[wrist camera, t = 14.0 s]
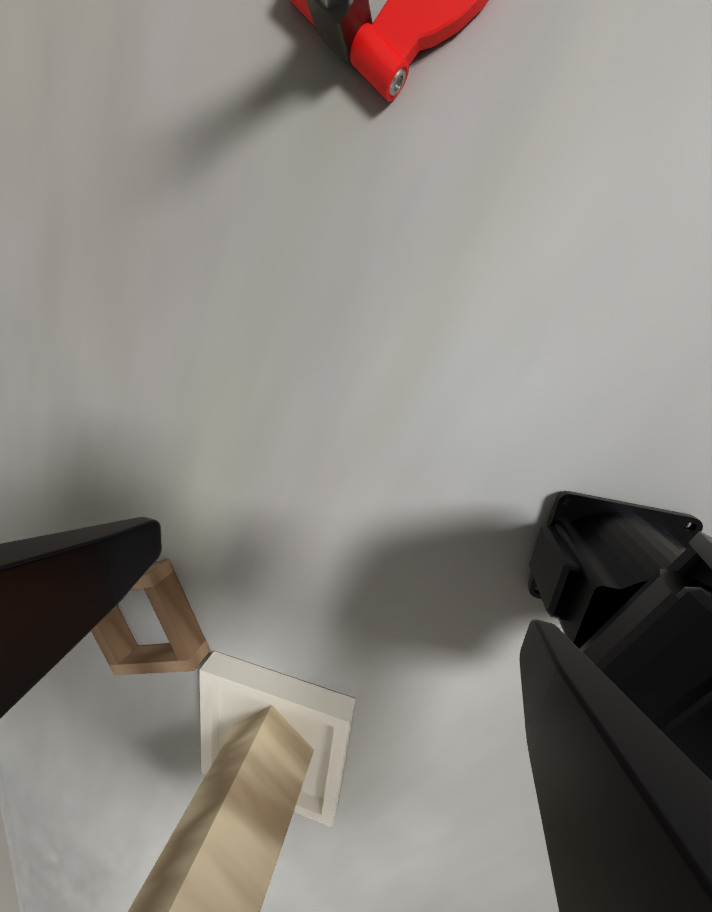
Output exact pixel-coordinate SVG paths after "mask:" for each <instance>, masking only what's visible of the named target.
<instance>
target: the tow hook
mask: <svg viewBox="0 0 712 912" xmlns="http://www.w3.org/2000/svg"><path fill="white" fill-rule="evenodd" d="M290 1H291V2H292V3H293V4H294V5H295V6H296V7H297V8H298V9H299V10H300V11H301V12H302V13H303V15H304V16H305V17H306V18H307V19H308V20H309V21H310V22H311V23H312V24H313V25H314V26H315V28H316V30H317V32H318V34H319V35H320V36H321V37H322V38H323V39H324V40H325V41H326V42H327V43H328V44H329V45H330V46H331V47H332V48H333V49H334V51H335V52H336V53H337V54H338V55H339V56H340V57H341V58H342V59H343V60H344V61H345V62H346V63H347V64H348V65H349V66H351V67H355V68H356V69H357V70H358V71H359V72H360V73H361V74H362V75H363V76H364V77H365V78H366V79H367V80H368V81H369V83H370V84H371V85H372V86H373V87H374V88H375V89H376V90H377V91H378V92H379V93H380V94H381V95H382V96H383V97H384V98H385V99H386V100H387V101H388V102H390V101H392V100H394V99H395V98H396V97H397V95H398V94H399V93H400V91H401V90H402V88H403V86H404V84H405V81H406V79H407V75H408V71H409V65H410V63H411V62H412V60H413V59H414V58H415V56H416V55H417V53H418V52H419V51H420V50H424V49H428V48H431V47H434V46H435V45H437V44H439V43H440V42H442V41H444V40H446V39H447V38H449V37H451V36H452V35H454V34H456V33H457V32H459V31H460V30H461V29H462V28H463V27H464V26H465V25H466V24H467V23H468V22H469V21H470V20H471V19H472V18H473V17H474V16H475V15H476V14H477V13H479V12H480V11H481V10H482V9H483V7H484V6H485V5H486V3H487V2H488V0H387V2H386V4H385V5H384V7H383V8H382V10H381V11H380V13H379V14H378V16H377V17H376V19H375V20H374V22H373V23H372V18H371V12H370V7H369V1H368V0H290Z"/></svg>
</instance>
